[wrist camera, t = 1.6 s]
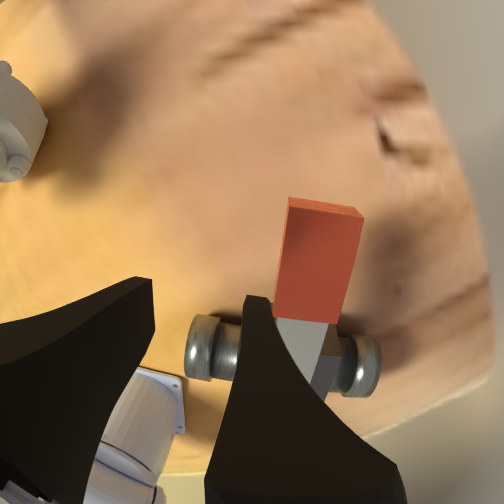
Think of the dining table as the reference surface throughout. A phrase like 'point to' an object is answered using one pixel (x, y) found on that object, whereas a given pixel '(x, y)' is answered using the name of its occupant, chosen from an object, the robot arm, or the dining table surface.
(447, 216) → the dining table surface
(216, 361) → the pipe valve
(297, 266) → the valve lever
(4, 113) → the grey rounded housing
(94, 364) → the robot arm
